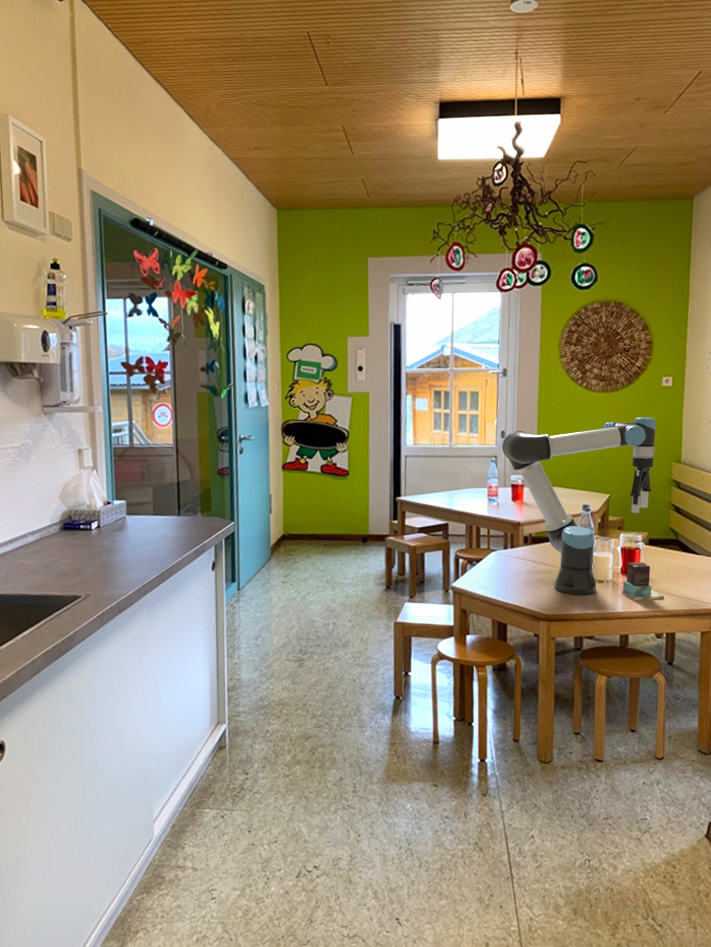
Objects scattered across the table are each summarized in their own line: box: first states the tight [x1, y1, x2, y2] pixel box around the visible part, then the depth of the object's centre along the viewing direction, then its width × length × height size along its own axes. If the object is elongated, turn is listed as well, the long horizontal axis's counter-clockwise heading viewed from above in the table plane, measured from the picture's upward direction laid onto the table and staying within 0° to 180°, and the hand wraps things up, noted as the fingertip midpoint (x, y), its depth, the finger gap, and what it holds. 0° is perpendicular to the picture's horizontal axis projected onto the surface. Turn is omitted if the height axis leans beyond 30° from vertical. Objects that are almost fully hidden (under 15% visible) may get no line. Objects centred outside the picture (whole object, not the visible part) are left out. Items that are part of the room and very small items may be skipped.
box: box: [626, 562, 651, 586], centre depth 264 cm, size 6×6×7 cm
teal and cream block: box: [621, 580, 665, 601], centre depth 265 cm, size 12×8×5 cm, turn 100°
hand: (639, 510), depth 282 cm, fingers open, 13 cm apart
